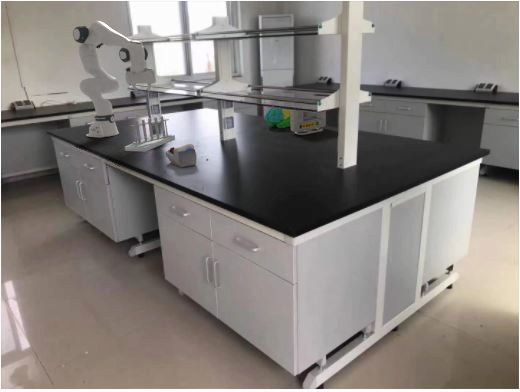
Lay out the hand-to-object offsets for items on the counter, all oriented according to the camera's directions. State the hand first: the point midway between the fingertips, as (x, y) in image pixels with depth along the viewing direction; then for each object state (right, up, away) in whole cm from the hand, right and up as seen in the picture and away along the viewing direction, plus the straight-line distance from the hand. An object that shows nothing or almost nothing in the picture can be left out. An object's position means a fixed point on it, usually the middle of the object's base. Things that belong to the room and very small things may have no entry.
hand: (142, 91), depth 270 cm
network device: (+106, -25, +3) cm, 109 cm away
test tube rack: (+8, -32, -7) cm, 34 cm away
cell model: (+36, -50, -52) cm, 81 cm away
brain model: (+89, -19, +23) cm, 94 cm away
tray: (+7, -35, -7) cm, 36 cm away
